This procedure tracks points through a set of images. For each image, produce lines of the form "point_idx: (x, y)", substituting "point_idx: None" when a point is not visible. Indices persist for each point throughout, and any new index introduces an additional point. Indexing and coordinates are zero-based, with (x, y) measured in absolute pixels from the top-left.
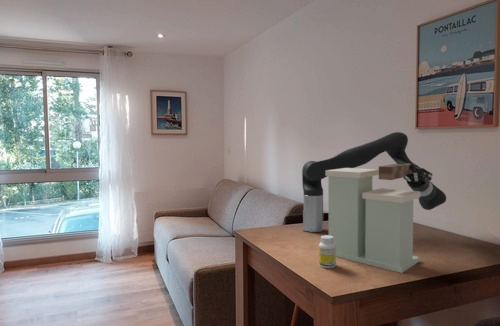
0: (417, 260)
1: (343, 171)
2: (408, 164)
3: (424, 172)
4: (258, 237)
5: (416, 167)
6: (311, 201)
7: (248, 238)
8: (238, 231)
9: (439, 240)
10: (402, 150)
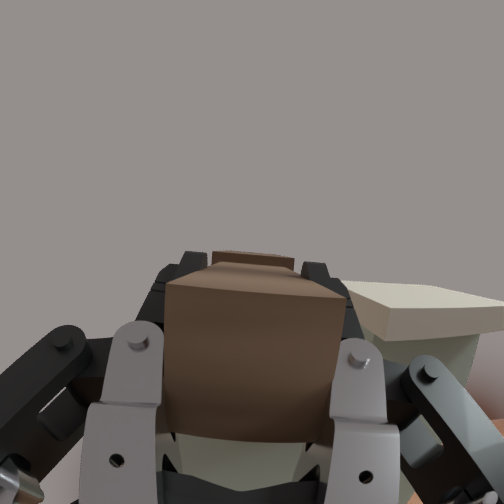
0: None
1: (381, 283)
2: (229, 271)
3: (31, 414)
4: (500, 431)
5: (142, 310)
6: None
7: (496, 421)
8: None
9: None
10: None
